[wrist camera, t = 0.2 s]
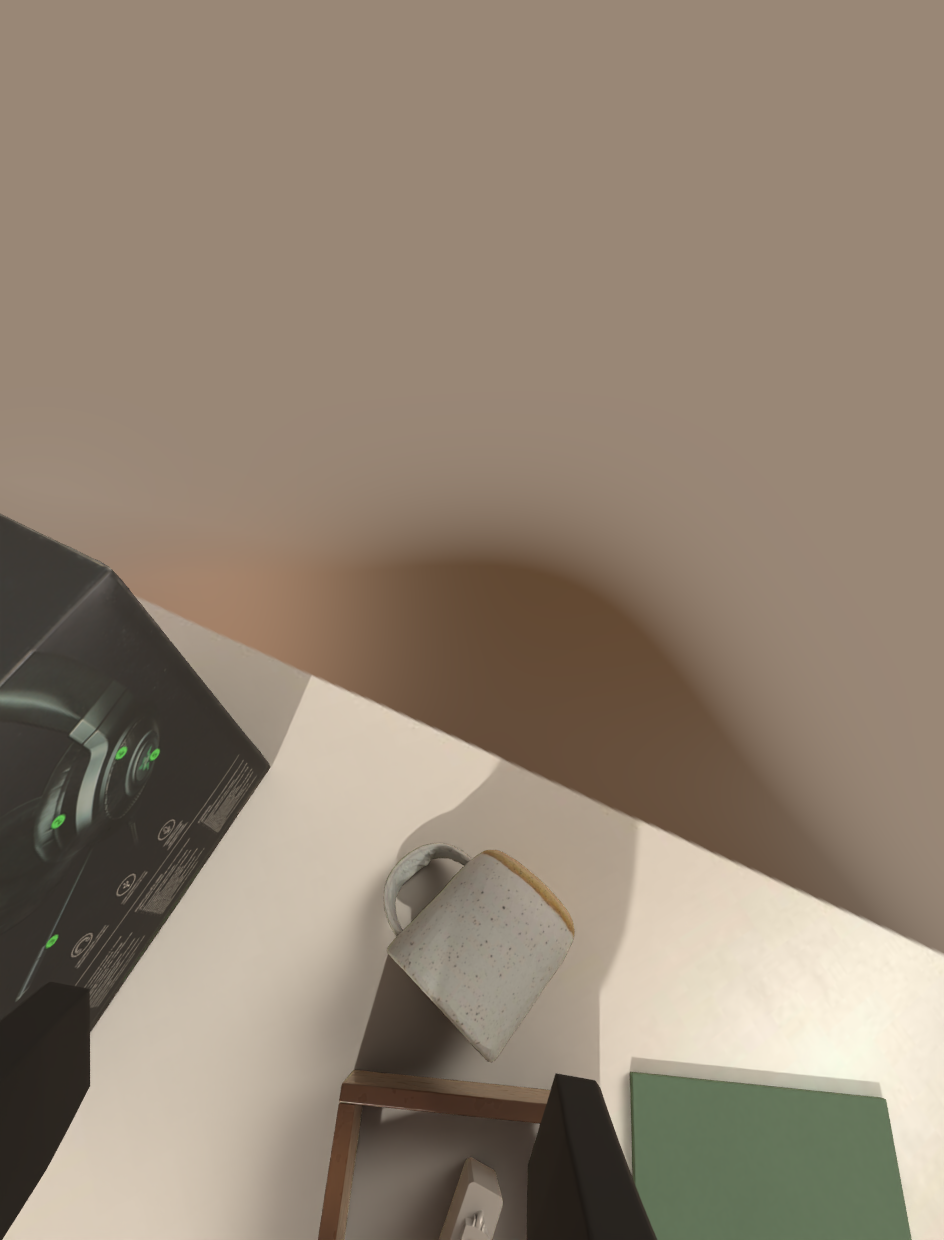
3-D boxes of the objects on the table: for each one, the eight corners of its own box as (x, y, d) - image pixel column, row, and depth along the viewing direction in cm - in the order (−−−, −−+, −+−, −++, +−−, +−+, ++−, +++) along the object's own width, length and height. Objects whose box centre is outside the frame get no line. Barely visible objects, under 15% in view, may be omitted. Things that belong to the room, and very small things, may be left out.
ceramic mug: (573, 934, 38) (598, 925, 32) (485, 1058, 35) (493, 1077, 29) (443, 816, 42) (442, 786, 35) (353, 920, 38) (332, 908, 32)
